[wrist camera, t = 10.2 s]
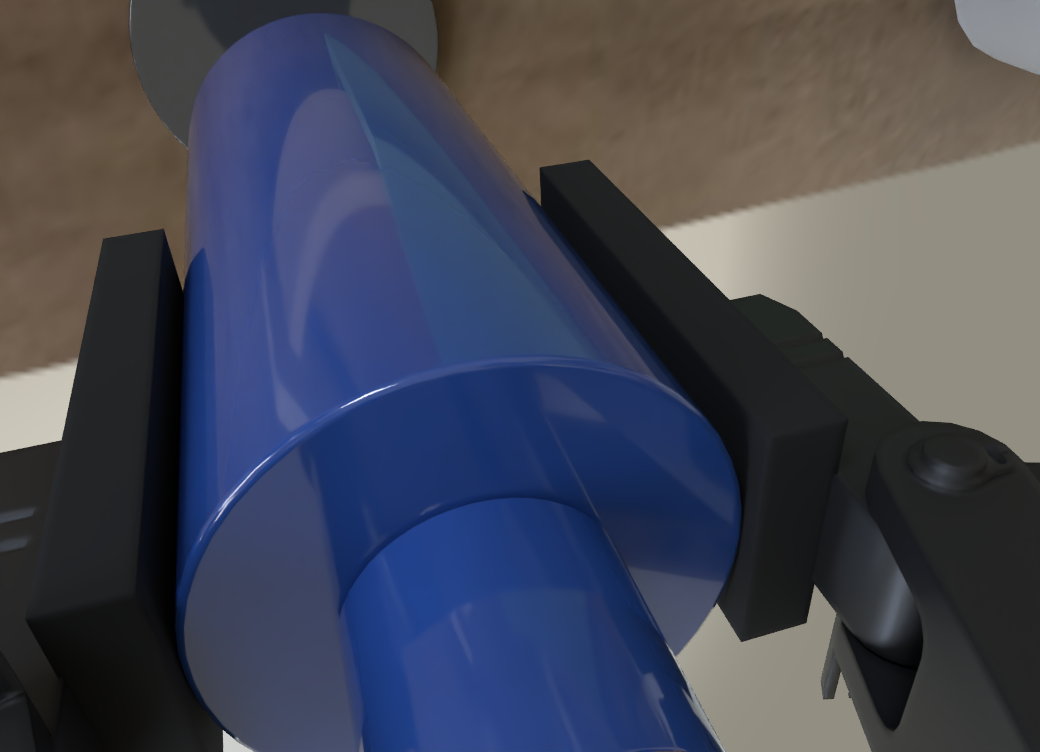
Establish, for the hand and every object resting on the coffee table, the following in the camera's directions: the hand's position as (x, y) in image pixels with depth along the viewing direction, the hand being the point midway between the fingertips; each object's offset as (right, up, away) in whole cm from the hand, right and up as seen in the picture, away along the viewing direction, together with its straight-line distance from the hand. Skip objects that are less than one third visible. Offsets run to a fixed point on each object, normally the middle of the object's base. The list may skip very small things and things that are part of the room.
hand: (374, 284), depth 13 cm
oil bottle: (-2, +3, +5) cm, 6 cm away
